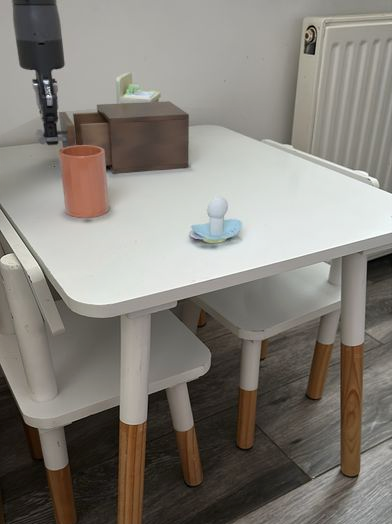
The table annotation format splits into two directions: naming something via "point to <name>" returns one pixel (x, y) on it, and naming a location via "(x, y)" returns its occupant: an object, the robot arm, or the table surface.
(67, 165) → the cup
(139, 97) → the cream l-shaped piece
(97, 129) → the drawer
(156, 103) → the cabinet
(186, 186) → the table surface
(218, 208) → the pacifier
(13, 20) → the robot arm
